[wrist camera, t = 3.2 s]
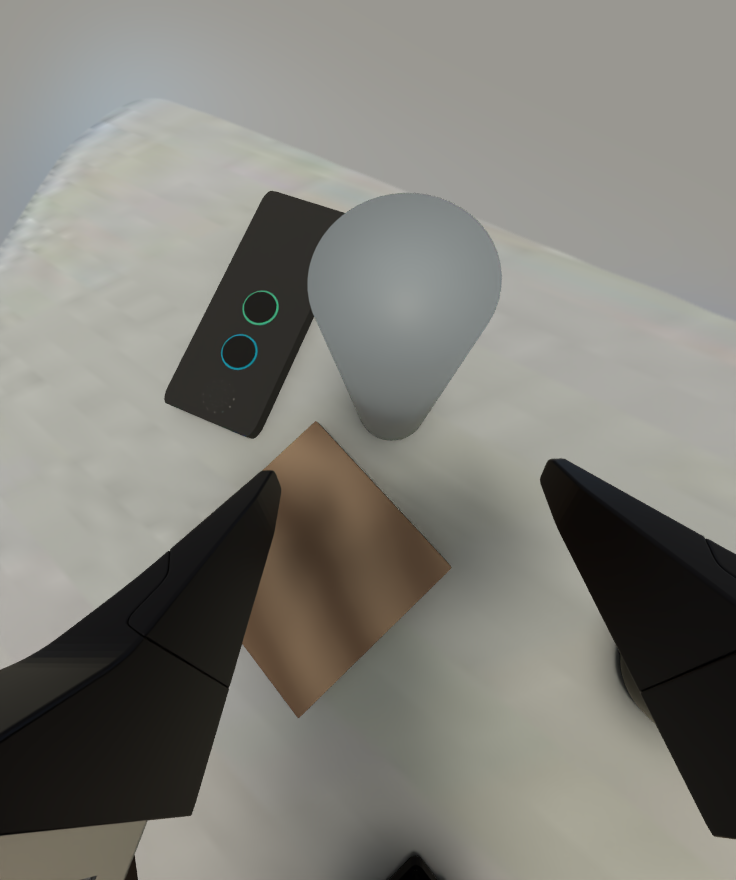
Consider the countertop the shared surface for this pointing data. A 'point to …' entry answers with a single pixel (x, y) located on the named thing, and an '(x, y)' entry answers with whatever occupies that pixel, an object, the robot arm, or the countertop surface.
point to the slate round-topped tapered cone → (402, 303)
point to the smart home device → (253, 319)
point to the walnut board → (332, 571)
